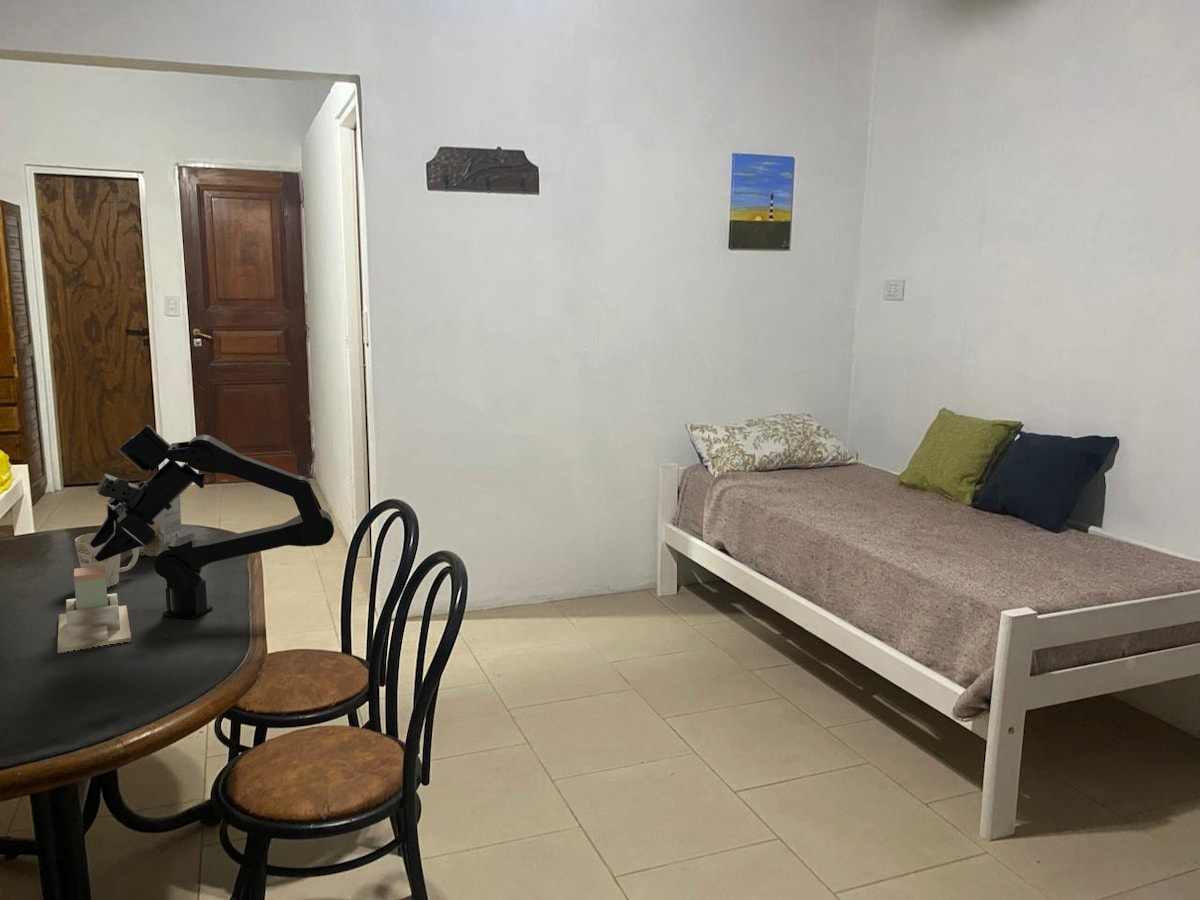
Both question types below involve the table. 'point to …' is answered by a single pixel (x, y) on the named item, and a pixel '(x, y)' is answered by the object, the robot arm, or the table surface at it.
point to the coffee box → (164, 529)
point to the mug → (111, 564)
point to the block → (90, 587)
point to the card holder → (93, 626)
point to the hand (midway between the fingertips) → (94, 552)
